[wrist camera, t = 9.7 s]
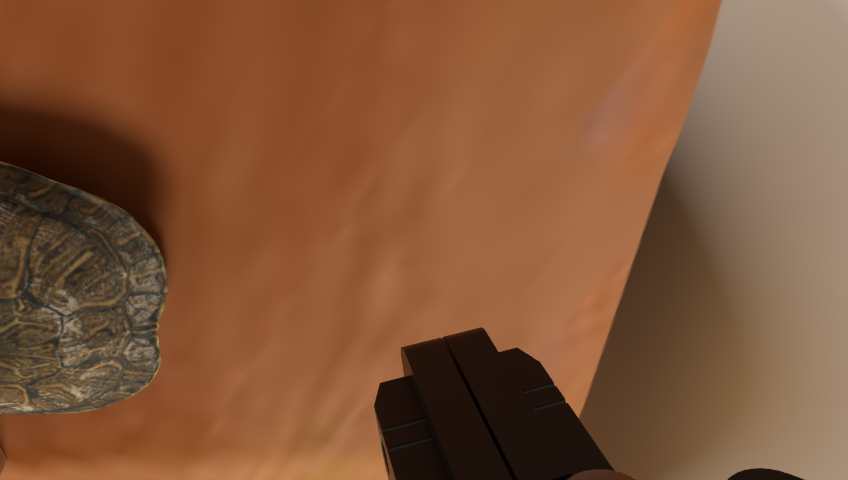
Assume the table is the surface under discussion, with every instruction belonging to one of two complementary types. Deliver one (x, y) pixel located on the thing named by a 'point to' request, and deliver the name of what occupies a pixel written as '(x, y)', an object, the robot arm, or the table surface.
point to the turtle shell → (73, 298)
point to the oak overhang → (2, 460)
